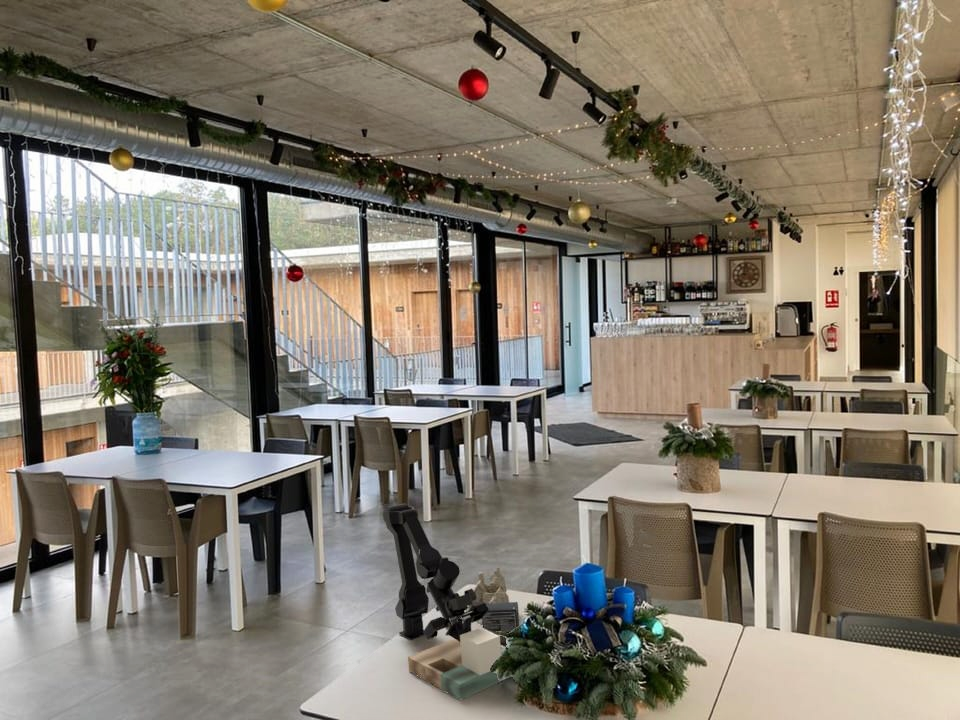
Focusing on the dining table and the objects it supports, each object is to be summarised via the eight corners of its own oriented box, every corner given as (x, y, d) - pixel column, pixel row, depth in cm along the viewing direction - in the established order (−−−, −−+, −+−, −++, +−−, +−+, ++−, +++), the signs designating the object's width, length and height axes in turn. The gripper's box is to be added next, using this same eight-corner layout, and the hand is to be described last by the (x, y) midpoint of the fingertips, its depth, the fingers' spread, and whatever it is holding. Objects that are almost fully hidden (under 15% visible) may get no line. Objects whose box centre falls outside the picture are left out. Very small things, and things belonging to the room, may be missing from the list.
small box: (520, 635, 224) (518, 600, 224) (519, 645, 218) (517, 609, 217) (485, 636, 225) (482, 602, 225) (483, 646, 219) (480, 610, 218)
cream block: (462, 665, 198) (459, 635, 198) (483, 656, 202) (481, 627, 202) (479, 675, 192) (477, 644, 191) (501, 666, 196) (499, 636, 195)
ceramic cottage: (473, 604, 251) (470, 561, 250) (520, 610, 245) (518, 565, 244) (454, 625, 237) (451, 579, 235) (503, 632, 231) (501, 585, 229)
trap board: (408, 671, 206) (407, 656, 205) (472, 645, 219) (471, 631, 219) (460, 700, 188) (459, 684, 188) (526, 670, 202) (525, 655, 201)
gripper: (427, 591, 198) (455, 644, 190) (482, 572, 210) (511, 622, 202) (412, 613, 205) (439, 665, 197) (466, 594, 217) (494, 642, 209)
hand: (472, 648), depth 201 cm, fingers closed
